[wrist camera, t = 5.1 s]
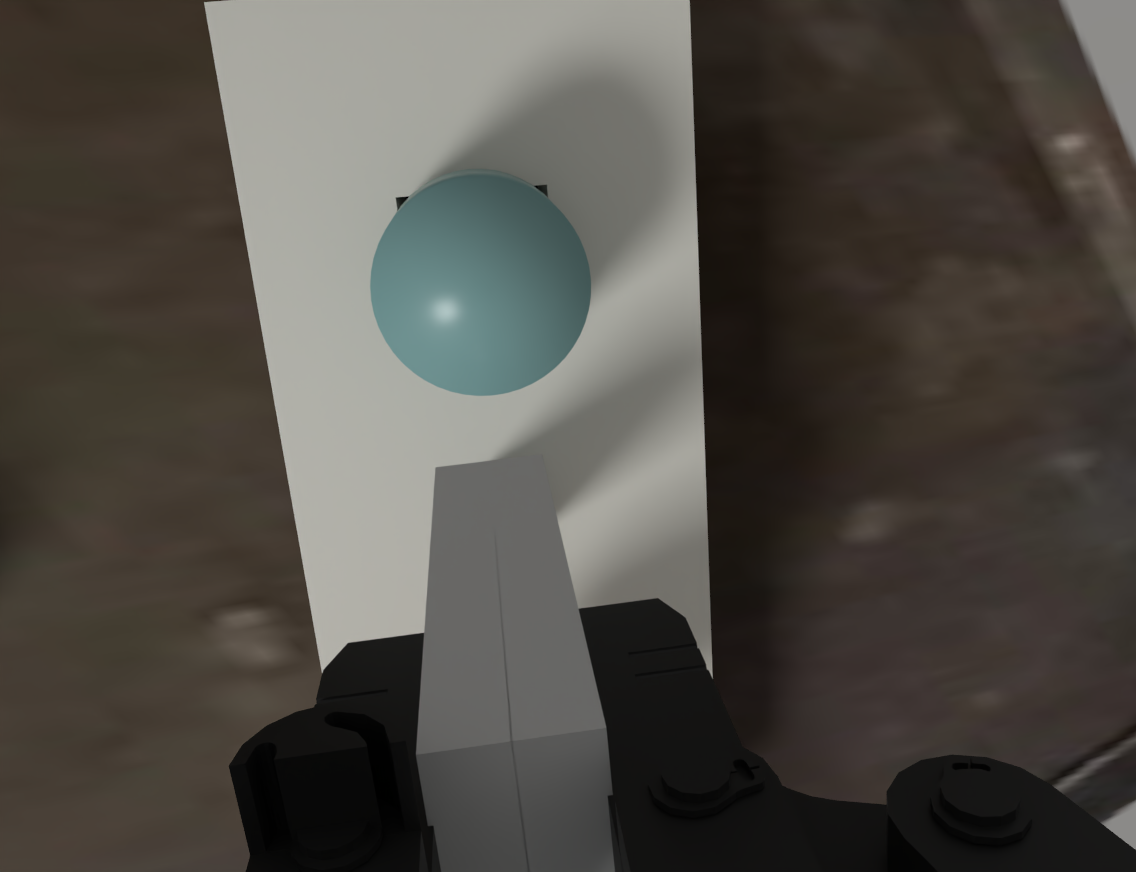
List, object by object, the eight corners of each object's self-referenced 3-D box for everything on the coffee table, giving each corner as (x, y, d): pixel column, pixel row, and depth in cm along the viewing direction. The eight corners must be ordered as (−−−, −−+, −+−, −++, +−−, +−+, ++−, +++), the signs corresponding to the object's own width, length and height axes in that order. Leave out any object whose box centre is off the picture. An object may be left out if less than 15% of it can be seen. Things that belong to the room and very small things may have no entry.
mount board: (374, 831, 37) (364, 913, 33) (238, 16, 28) (204, 2, 25) (693, 790, 38) (719, 866, 34) (659, -15, 29) (688, -33, 25)
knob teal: (402, 341, 31) (385, 406, 24) (379, 168, 29) (355, 186, 23) (569, 325, 31) (598, 384, 25) (556, 153, 30) (583, 167, 23)
